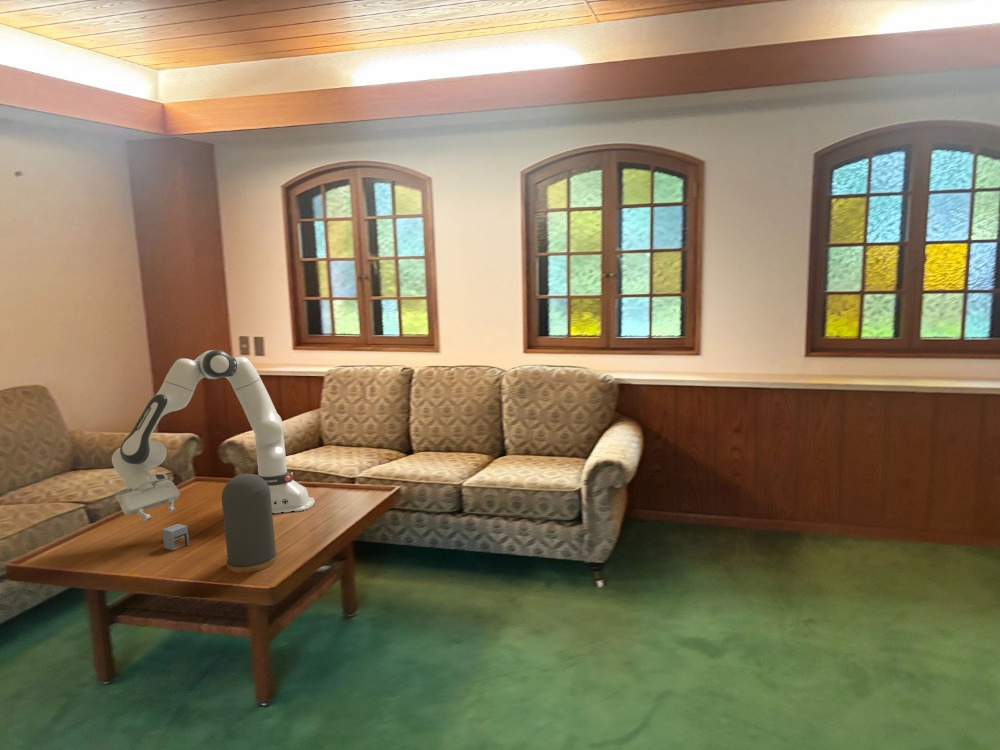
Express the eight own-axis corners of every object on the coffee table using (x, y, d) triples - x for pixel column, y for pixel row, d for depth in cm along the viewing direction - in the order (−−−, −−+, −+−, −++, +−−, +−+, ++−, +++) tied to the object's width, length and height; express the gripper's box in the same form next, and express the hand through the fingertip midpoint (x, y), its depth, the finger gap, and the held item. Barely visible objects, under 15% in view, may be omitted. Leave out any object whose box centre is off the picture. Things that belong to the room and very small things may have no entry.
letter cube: (178, 543, 249) (177, 532, 248) (185, 545, 247) (184, 534, 246) (168, 547, 246) (166, 536, 245) (175, 549, 244) (174, 538, 243)
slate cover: (179, 542, 250) (177, 523, 249) (189, 544, 247) (187, 526, 246) (164, 548, 245) (161, 529, 244) (174, 550, 242) (171, 531, 241)
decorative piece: (286, 553, 236) (278, 467, 232) (263, 573, 221) (254, 482, 216) (243, 552, 239) (234, 467, 234) (217, 571, 224) (208, 481, 219)
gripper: (116, 488, 242) (136, 519, 238) (170, 473, 259) (189, 501, 256) (110, 499, 245) (130, 530, 241) (164, 483, 262) (183, 511, 258)
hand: (160, 515), depth 248 cm, fingers open, 8 cm apart
